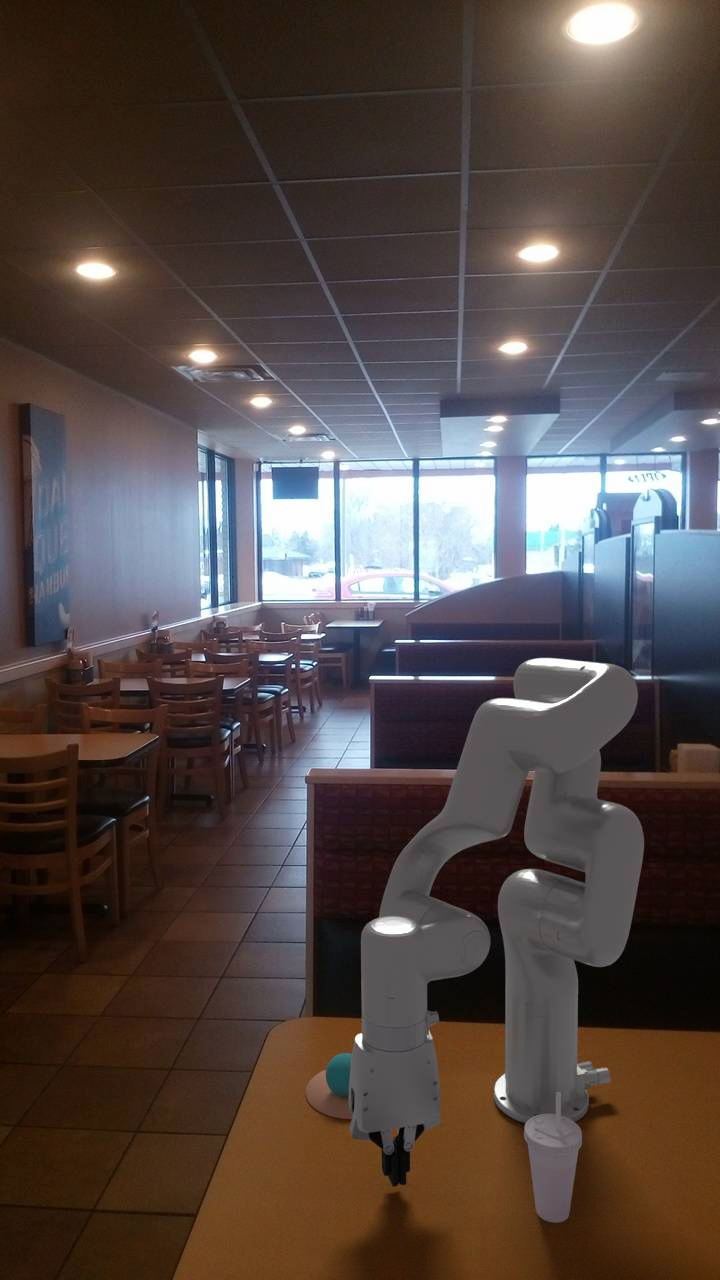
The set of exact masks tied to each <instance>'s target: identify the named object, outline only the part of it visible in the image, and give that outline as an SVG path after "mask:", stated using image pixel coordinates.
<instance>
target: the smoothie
mask: <svg viewBox="0 0 720 1280" xmlns="http://www.w3.org/2000/svg"><path fill="white" fill-rule="evenodd" d="M523 1137H524V1140H525V1142H526V1143H527V1148H528V1156H529V1165H530V1172H531V1173H530V1174H531V1180H532V1190H533V1196H534V1197H533V1198H534V1205H535V1213H536V1214H537V1215H538V1217H540V1219H542V1220H544V1221H546V1222H549V1223H553V1224H556V1223H557V1224H558V1223H562V1222H566V1220H568V1218H569V1217H570V1211H571V1204H572V1197H573V1191H574V1182H575V1177H576V1170H577V1169H576V1168H577V1162H578V1155H579V1150H580V1148H581V1147H582V1145H583V1144H582V1143H583V1133H582V1129H581V1127H580V1125H578V1123H576V1122H574V1121H572V1120H571V1119H569V1118H567V1117H564V1116H561V1093H560V1092H556V1114H540V1115H536V1116H534V1117H532V1118H530V1119H529V1120H528V1121H527V1122H526V1124H525V1123H524V1132H523Z"/></svg>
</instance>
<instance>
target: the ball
mask: <svg viewBox="0 0 720 1280" xmlns="http://www.w3.org/2000/svg"><path fill="white" fill-rule="evenodd" d="M351 1058H352V1053H349V1052H343V1053H340V1054H339V1053H338V1054H337V1055H335V1056H334V1057H332V1058H331V1059H330V1060H329V1062H328V1064H327V1066H326V1069H325V1070H326V1082H327V1085H328V1087H329V1088H330V1090H331V1091H332V1092H333V1093H334V1094H336V1095H338V1096H341V1097H349V1080H350V1068H351Z"/></svg>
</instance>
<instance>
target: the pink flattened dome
mask: <svg viewBox="0 0 720 1280" xmlns="http://www.w3.org/2000/svg"><path fill="white" fill-rule="evenodd" d="M305 1096H306V1097H305V1098H306V1100H307V1102H308V1103H309V1105H310V1106H311V1107H312V1108H313V1109H314V1110H316V1111H318V1112H319V1113H321V1114H323V1115H325V1116H327V1117H331V1118H337V1119H341V1120H352V1116H353V1113H351V1112H350V1108H349V1097H341V1096H338V1095H336V1094H334V1093H333V1092H332V1091H331V1090H330V1088H329V1087H328V1085H327V1082H326V1069H324V1070H322V1071H320V1072H319V1073H317V1074H315V1075H314V1076H313V1077H312V1078H311V1079H310V1080H309V1082H308V1083H307V1086H306V1088H305Z"/></svg>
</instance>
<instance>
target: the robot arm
mask: <svg viewBox="0 0 720 1280" xmlns="http://www.w3.org/2000/svg"><path fill="white" fill-rule="evenodd" d="M513 693H514V697H515V698H512V697H511V698H510V697H497V698H492V699H489V700H486V701H485V702H483V703H482V704H480V706H479V707H478V709H477V710H476V712H475V714H474V717H473V719H472V722H471V724H470V727H469V730H468V733H467V737H466V740H465V743H464V745H463V749H462V753H461V756H460V759H459V761H458V765H457V767H456V771H455V774H454V777H453V781H452V782H451V786H450V788H449V789H450V790H449V792H448V796H447V799H446V802H445V805H444V807H443V808H442V810H441V812H440V813H438V815H437V816H436V817H434V818H433V819H432V820H430V821H429V822H428V823H427V824H426V825H425V826H423V827H422V828H421V829H420V830H419V831H418V832H417V833H416V834H415V836H413V838H412V839H411V840H410V841H409V842H408V844H407V845H406V846H405V847H404V848H403V849H402V850H401V852H400V853H399V855H398V857H397V859H396V861H395V862H394V863H393V864H394V865H393V867H392V869H391V873H390V874H389V878H388V881H387V883H386V887H385V889H384V893H383V896H382V899H381V904H380V908H379V914H378V915H379V916H378V917H377V918H374V919H372V920H371V921H369V922H367V923H366V924H365V926H364V927H363V929H362V931H361V935H360V936H361V937H360V966H361V967H360V971H361V973H360V974H361V975H360V976H361V978H360V979H361V980H360V983H361V1033H357V1035H355V1037H354V1042H353V1045H352V1046H353V1047H352V1053H351V1054H352V1058H351V1068H350V1080H349V1108H350V1112H351V1113H353V1116H352V1119H350V1121H351V1122H350V1125H349V1132H350V1135H351V1137H352V1139H353V1140H361V1141H368V1140H369V1141H371V1142H372V1143H374V1144H375V1145H376V1146H377V1147H379V1148H380V1149H381V1170H382V1174H383V1175H384V1177H387V1178H388V1179H389V1182H390V1184H391V1186H392V1187H393V1188H395V1187H398V1186H399V1185H401V1186H405V1185H407V1173H409V1172H410V1171H411V1151H412V1150H413V1149H414V1145H415V1142H416V1141H417V1140H418V1138H420V1136H421V1135H422V1134H423V1133H424V1131H427V1130H429V1129H432V1128H434V1127H437V1126H439V1125H440V1124H441V1116H440V1114H441V1105H442V1104H441V1103H442V1102H441V1087H440V1086H441V1083H440V1077H439V1067H438V1059H437V1053H436V1048H435V1043H434V1039H433V1036H432V1034H431V1031H430V1028H431V1027H433V1026H434V1025H436V1024H439V1023H440V1017H439V1013H438V1010H437V1011H431V1010H430V1011H429V1010H428V984H429V983H430V982H431V981H437V980H443V979H450V978H457V977H461V976H464V975H467V974H469V973H471V972H473V971H475V970H476V969H477V968H479V967H480V966H481V965H482V964H483V963H484V961H485V960H486V959H487V956H488V954H489V951H490V948H491V935H490V931H489V928H488V926H487V925H486V923H485V922H484V921H483V920H482V919H481V917H478V916H477V915H475V914H474V913H473V912H470V911H468V910H465V909H463V908H460V907H457V906H455V905H452V904H450V903H448V902H446V901H443V900H440V899H438V898H435V897H432V896H430V893H431V890H432V887H433V884H434V882H435V880H436V878H437V875H438V873H439V871H440V870H441V869H442V867H444V865H445V863H446V862H448V860H450V859H451V858H452V857H454V855H456V854H458V853H460V852H461V851H463V850H466V849H468V848H470V847H474V846H476V845H479V844H482V843H488V842H491V841H495V840H499V839H502V838H504V837H506V836H507V835H509V833H510V832H511V830H512V829H513V828H512V827H513V824H514V820H515V819H516V815H517V814H516V813H517V811H518V807H519V804H520V801H521V798H522V794H523V791H524V789H525V784H526V780H527V778H528V775H529V772H530V771H531V772H534V775H533V779H532V784H531V789H530V790H531V791H530V793H529V794H530V795H529V801H528V805H527V811H526V817H525V823H524V832H523V835H524V838H523V839H524V843H525V847H526V848H527V850H528V851H529V852H530V853H531V854H533V855H535V856H536V857H537V858H540V859H543V860H545V861H547V862H551V863H553V864H556V865H560V866H564V867H567V868H569V869H573V870H576V871H580V872H583V873H585V880H584V882H583V881H579V880H575V879H573V878H570V877H568V876H564V875H561V874H556V873H554V872H551V871H548V870H543V869H538V868H525V869H520V870H517V871H515V872H513V873H511V875H509V876H508V877H507V878H506V879H505V880H504V882H503V884H502V886H501V888H500V891H499V893H498V899H497V914H498V921H499V925H500V931H501V934H502V935H501V936H502V940H503V941H502V942H503V947H504V948H503V949H504V961H505V1035H504V1036H505V1047H504V1048H505V1053H504V1054H505V1063H504V1065H505V1072H504V1074H502V1075H501V1076H500V1077H499V1078H498V1079H497V1080H496V1082H495V1084H494V1087H493V1099H494V1102H495V1104H496V1106H497V1108H498V1109H500V1111H502V1113H504V1114H505V1115H506V1116H508V1117H509V1118H511V1119H512V1120H515V1121H517V1122H520V1123H522V1124H524V1125H525V1124H526V1122H527V1121H528V1120H529V1119H530V1118H532V1117H534V1116H536V1115H540V1114H556V1092H560V1093H561V1116H564V1117H567V1118H569V1119H571V1120H572V1121H574V1122H575V1123H576V1122H577V1121H579V1120H580V1119H582V1118H583V1117H584V1116H585V1115H586V1114H587V1112H588V1110H589V1102H590V1101H589V1100H590V1099H589V1094H588V1091H587V1089H590V1088H591V1085H592V1086H593V1085H602V1084H609V1083H611V1079H612V1076H611V1072H610V1070H609V1069H608V1067H600V1068H599V1067H598V1068H594V1066H593V1063H592V1061H583V1062H580V1063H578V1028H579V1027H578V1025H579V1023H578V1021H579V1020H578V1019H579V1018H578V1016H579V1015H578V1013H579V1012H578V1011H579V1010H578V1008H579V1005H578V1004H579V1003H578V1001H579V997H578V995H579V977H578V972H577V966H576V964H575V961H576V962H579V963H582V964H585V965H588V966H592V967H595V968H596V967H597V968H603V967H607V966H611V965H612V964H614V963H615V962H616V961H617V960H618V959H619V958H620V957H621V956H622V953H623V952H624V949H625V948H626V944H627V941H628V939H629V934H630V930H631V927H632V926H631V925H632V921H633V915H634V910H635V905H636V899H637V893H638V887H639V882H640V876H641V871H642V866H643V865H642V864H643V861H644V860H643V858H644V850H645V837H644V832H643V826H642V824H641V821H640V819H639V818H638V816H637V815H636V814H635V812H634V811H632V810H631V809H630V808H628V807H627V806H624V805H622V804H620V803H616V802H611V801H607V800H604V799H599V798H598V788H599V783H600V774H601V769H602V768H601V767H602V757H601V756H602V755H601V752H600V751H601V750H600V749H602V748H603V747H604V746H605V745H606V744H607V743H609V742H610V741H611V740H612V739H613V738H614V737H616V736H617V735H618V734H619V733H620V732H621V731H622V730H623V729H624V727H626V726H627V725H628V723H629V722H630V720H631V719H632V717H633V715H634V713H635V711H636V708H637V705H638V700H639V699H638V698H639V694H638V693H639V692H638V686H637V683H636V680H635V678H634V677H633V676H632V674H631V673H630V672H629V671H628V670H627V669H625V668H624V667H621V666H619V665H617V664H613V663H605V662H594V661H586V660H585V661H583V660H577V659H576V660H575V659H567V658H557V657H538V658H532V659H528V660H526V661H524V662H522V663H521V664H520V665H518V667H517V668H516V670H515V673H514V676H513ZM396 1129H397V1131H396V1134H397V1135H396V1136H394V1138H393V1133H392V1130H396Z"/></svg>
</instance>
